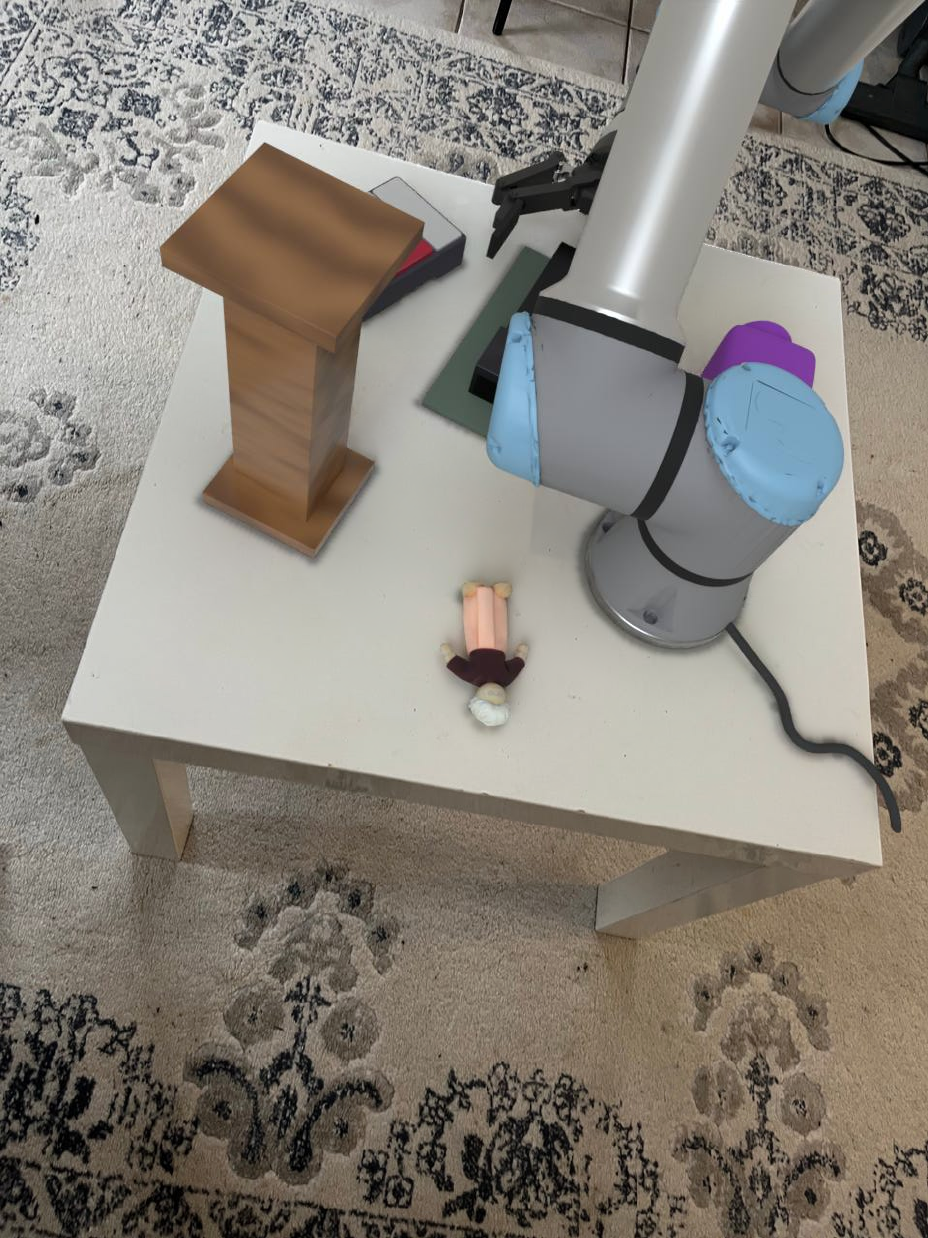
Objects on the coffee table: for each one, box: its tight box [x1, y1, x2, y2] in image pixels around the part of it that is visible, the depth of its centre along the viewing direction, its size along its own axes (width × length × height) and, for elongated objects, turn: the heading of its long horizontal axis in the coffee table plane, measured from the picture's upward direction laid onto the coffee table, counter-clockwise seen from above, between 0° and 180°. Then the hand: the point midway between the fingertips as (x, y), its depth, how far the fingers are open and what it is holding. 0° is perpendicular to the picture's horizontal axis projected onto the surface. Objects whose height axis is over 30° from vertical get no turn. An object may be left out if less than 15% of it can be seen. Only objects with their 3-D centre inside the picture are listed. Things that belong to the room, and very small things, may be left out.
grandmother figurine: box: [439, 581, 530, 727], centre depth 75 cm, size 8×4×13 cm
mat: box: [421, 245, 551, 439], centre depth 93 cm, size 26×11×1 cm, turn 155°
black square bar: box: [468, 241, 577, 405], centre depth 92 cm, size 22×4×4 cm, turn 155°
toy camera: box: [699, 320, 817, 389], centre depth 90 cm, size 11×14×10 cm
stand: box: [159, 141, 425, 560], centre depth 68 cm, size 12×12×28 cm
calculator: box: [362, 175, 467, 323], centre depth 93 cm, size 11×4×15 cm
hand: (552, 277), depth 89 cm, fingers open, 13 cm apart
